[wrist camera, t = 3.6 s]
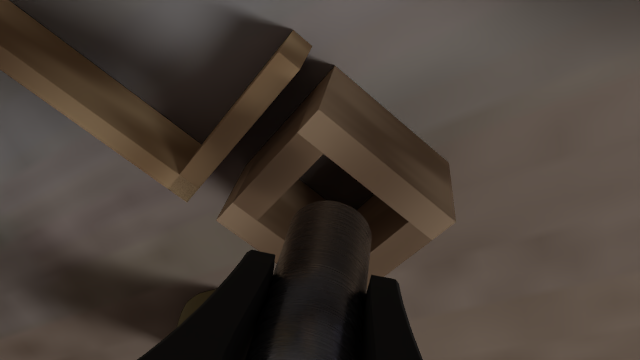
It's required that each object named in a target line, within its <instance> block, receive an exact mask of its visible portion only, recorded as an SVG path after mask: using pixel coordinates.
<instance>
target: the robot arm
mask: <svg viewBox="0 0 640 360" xmlns="http://www.w3.org/2000/svg"><path fill="white" fill-rule="evenodd" d="M274 262H275V254H270V253H265V252H260V251H256V250H250V251H249V252H247V253H246V254H245V256H244V257H243V259H242V260H241V261H240V263H239V264H238V265H237V266H236V268H235V269H234V270H233V271H232V272H231V274H230V275H229V276H228V277H227V278H226V279H225V280H224V282H223V283H222V284H221V285H220V286H219V287H218V288H217V289H216V290H215V291H214V292H213V293H212V294H211V295H210V296H209V297H208V299H207V300H206V301H205V302H204V303H203V304H202V305H201V306H200V307H199V308H198V309H197V310H196V311H194V312H193V313H192V314H191V315H190V316H189V317H188V318H187V319H186V320H185V321H184V322H183V323H182V324H180V325H179V326H178V327H177V328H176V329H175V330H174V331H173V332H171V333H170V334H169V335H168V336H167V337H166V338H164V339H163V340H162V341H161V342H160V343H158V344H157V345H156V346H155V347H153V348H152V349H151V350H149V351H148V352H147V353H146V354H144V355H143V356H142V357H140V358H139V359H137V360H245V358H246V355H247V352H248V349H249V346H250V343H251V340H252V337H253V334H254V331H255V328H256V325H257V322H258V319H259V316H260V313H261V310H262V307H263V304H264V301H265V298H266V295H267V292H268V289H269V286H270V283H271V280H272V277H273V270H274ZM360 360H423V359H422V357H421V354H420V351H419V349H418V346H417V344H416V341H415V338H414V336H413V333H412V330H411V327H410V324H409V321H408V318H407V314H406V311H405V308H404V304H403V300H402V296H401V292H400V287H399V283H398V282H397V281H396V280H395V279H391V278H386V277H381V276H376V275H371V277H370V281H369V285H368V289H367V293H366V300H365V310H364V320H363V331H362V342H361V352H360Z"/></svg>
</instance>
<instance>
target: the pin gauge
mask: <svg viewBox="0 0 640 360" xmlns="http://www.w3.org/2000/svg"><path fill="white" fill-rule="evenodd" d="M371 239H372V235H371V230H370V227H369V224H368V223H367V221H366V219H365V218H364V217H363V216H362V215H361V214H360V213H359V212H358V211H357V210H355V209H354V208H352V207H350V206H348V205H346V204H344V203H340V202H336V201H317V202H313V203H310V204H308V205H306V206H304V207H302V208H301V209H300V210H299V211H298V212H297V213H296V214H295V215H294V217H293V218H292V220H291V223H290V226H289V229H288V232H287V235H286V238H285V241H284V244H283V247H282V250H281V253H280V256H279V259H278V262H277V265H276V268H275V271H274V274H273V277H272V280H271V283H270V286H269V289H268V292H267V295H266V298H265V301H264V304H263V307H262V310H261V313H260V316H259V319H258V322H257V325H256V328H255V331H254V334H253V337H252V340H251V343H250V346H249V349H248V352H247V355H246V358H245V360H360V352H361V342H362V331H363V320H364V310H365V300H366V291H367V281H368V271H369V260H370V250H371Z"/></svg>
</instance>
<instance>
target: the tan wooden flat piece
mask: <svg viewBox="0 0 640 360" xmlns="http://www.w3.org/2000/svg"><path fill="white" fill-rule="evenodd" d="M311 48H312V46H311V45H310V44H309V43H308V42H307V41H306V40H304V39H303V38H302V37H301V36H300V35H298V34H297V33H296V32H295V31H294V30H293V31H292V32H291V33H290V35H289V36H288V37H287V38H286V40H285V41H284V42H283V43H282V45H281V46H280V47H279V48H278V50H277V51H276V52H275V53H274V55H273V56H272V57H271V58H270V60H269V61H268V62H267V63H266V65H265V66H264V67H263V68H262V70H261V71H260V72H259V73H258V75H257V76H256V77H255V78H254V80H253V81H252V82H251V83H250V85H249V86H248V87H247V88H246V90H245V91H244V92H243V93H242V95H241V96H240V97H239V98H238V100H237V101H236V102H235V103H234V105H233V106H232V107H231V108H230V110H229V111H228V112H227V113H226V115H225V116H224V117H223V118H222V120H221V121H220V122H219V123H218V125H217V126H216V127H215V128H214V130H213V131H212V132H211V133H210V135H209V136H208V137H207V138H206V140H205V141H204V142H203V143H202V145H201V144H200V143H199V142H197V141H196V140H195V139H193V138H192V137H191V136H189V135H188V134H187V133H185V132H184V131H183V130H181V129H180V128H179V127H177V126H176V125H175V124H173V123H172V122H171V121H169V120H168V119H167V118H165V117H164V116H163V115H161V114H160V113H159V112H157V111H156V110H155V109H153V108H152V107H151V106H149V105H148V104H147V103H145V102H144V101H143V100H141V99H140V98H139V97H137V96H136V95H135V94H133V93H132V92H131V91H129V90H128V89H127V88H125V87H124V86H123V85H121V84H120V83H118V82H117V81H116V80H114V79H113V78H112V77H110V76H109V75H108V74H106V73H105V72H104V71H102V70H101V69H100V68H98V67H97V66H96V65H94V64H93V63H92V62H90V61H89V60H88V59H86V58H85V57H84V56H82V55H81V54H80V53H78V52H77V51H76V50H74V49H73V48H72V47H70V46H69V45H68V44H66V43H65V42H64V41H62V40H61V39H60V38H58V37H57V36H56V35H54V34H53V33H52V32H50V31H49V30H48V29H46V28H45V27H44V26H42V25H41V24H40V23H38V22H37V21H36V20H34V19H33V18H32V17H30V16H29V15H28V14H26V13H25V12H24V11H22V10H21V9H20V8H18V7H17V6H16V5H14V4H13V3H12V2H10V1H9V0H0V70H2V71H3V72H4V73H6V74H7V75H9V76H10V77H11V78H13V79H14V80H16V81H17V82H18V83H20V84H21V85H23V86H24V87H26V88H27V89H28V90H30V91H31V92H33V93H34V94H35V95H37V96H38V97H40V98H41V99H42V100H44V101H45V102H47V103H48V104H49V105H51V106H52V107H54V108H55V109H56V110H58V111H59V112H61V113H62V114H63V115H65V116H66V117H68V118H69V119H71V120H72V121H73V122H75V123H76V124H78V125H79V126H80V127H82V128H83V129H85V130H86V131H87V132H89V133H90V134H92V135H93V136H94V137H96V138H97V139H99V140H100V141H101V142H103V143H104V144H106V145H107V146H108V147H110V148H111V149H113V150H114V151H116V152H117V153H118V154H120V155H121V156H123V157H124V158H125V159H127V160H128V161H130V162H131V163H132V164H134V165H135V166H137V167H138V168H139V169H141V170H142V171H144V172H145V173H146V174H148V175H149V176H151V177H152V178H153V179H155V180H156V181H158V182H159V183H160V184H162V185H163V186H165V187H166V188H168V189H169V190H170V191H172V192H173V193H175V194H176V195H177V196H179V197H180V198H182V199H183V200H184V201H186V202H188V201H189V199H190V198H191V197H192V196H193V195H194V194H195V192H196V191H197V190H198V189H199V188H200V186H201V185H202V184H203V183H204V182H205V181H206V179H207V178H208V177H209V176H210V175H211V174H212V172H213V171H214V170H215V169H216V168H217V166H218V165H219V164H220V163H221V162H222V161H223V159H224V158H225V157H226V156H227V155H228V154H229V152H230V151H231V150H232V149H233V148H234V147H235V145H236V144H237V143H238V142H239V141H240V139H241V138H242V137H243V136H244V135H245V134H246V132H247V131H248V130H249V129H250V128H251V127H252V125H253V124H254V123H255V122H256V121H257V119H258V118H259V117H260V116H261V115H262V114H263V112H264V111H265V110H266V109H267V108H268V107H269V105H270V104H271V103H272V102H273V101H274V99H275V98H276V97H277V96H278V95H279V94H280V92H281V91H282V90H283V89H284V88H285V87H286V85H287V84H288V83H289V82H290V81H291V79H292V78H293V77H294V76H295V75H296V74H297V72H298V71H299V70H300V68H301V67H302V65H303V63H304V61H305V59H306V57H307V55H308V53H309V52H310V50H311Z"/></svg>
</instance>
